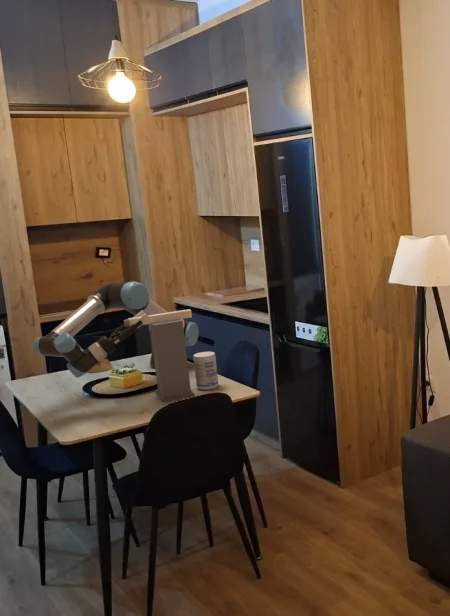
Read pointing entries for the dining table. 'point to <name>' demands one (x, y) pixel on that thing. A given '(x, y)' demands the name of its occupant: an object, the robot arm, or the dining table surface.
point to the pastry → (101, 367)
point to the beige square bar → (162, 317)
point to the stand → (170, 360)
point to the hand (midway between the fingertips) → (146, 314)
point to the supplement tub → (205, 370)
